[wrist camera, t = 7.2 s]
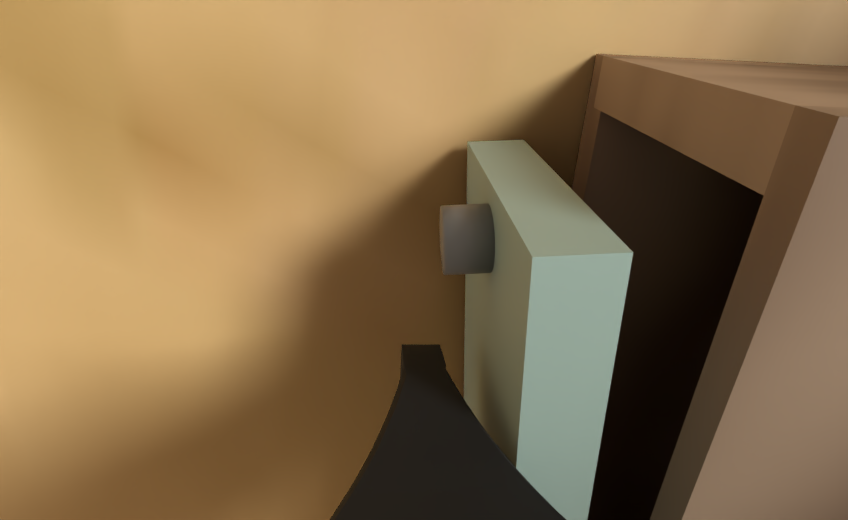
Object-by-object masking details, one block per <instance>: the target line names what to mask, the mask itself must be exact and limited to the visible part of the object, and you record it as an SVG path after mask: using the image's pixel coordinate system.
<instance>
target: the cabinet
mask: <svg viewBox="0 0 848 520" xmlns="http://www.w3.org/2000/svg"><path fill="white" fill-rule="evenodd" d="M572 190H573V191H574V192H575V193H576V194H577V195H578V196H579V197H580V198H581V199H582V200H583V201H584V202H585V203H586V204H587V205H588V206H589V207H590V208H591V209H592V211H593V212H594V213H595V214H596V215H597V216H598V217H599V218H600V219H601V220H602V221H603V222H604V223H605V224H606V225H607V226H608V227H609V228H610V229H611V230H612V231H613V232H614V233H615V234H616V235H617V236H618V237H619V238H620V239H621V240H622V241H623V242H624V243H625V244H626V245H627V246H628V248H629V249H630V250H631V251H632V252H633V257H632V263H631V269H630V275H629V280H628V286H627V292H626V298H625V304H624V309H623V315H622V321H621V327H620V333H619V339H618V344H617V350H616V356H615V362H614V368H613V373H612V379H611V385H610V391H609V397H608V403H607V408H606V414H605V420H604V426H603V432H602V437H601V443H600V449H599V455H598V461H597V467H596V472H595V478H594V484H593V490H592V496H591V501H590V507H589V513H588V519H587V520H848V66H829V65H808V64H788V63H768V62H748V61H728V60H708V59H688V58H668V57H648V56H627V55H607V54H596V59H595V64H594V70H593V75H592V81H591V86H590V92H589V97H588V103H587V108H586V114H585V119H584V125H583V130H582V136H581V141H580V147H579V152H578V158H577V163H576V169H575V174H574V180H573V185H572Z"/></svg>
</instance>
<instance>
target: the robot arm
mask: <svg viewBox="0 0 848 520" xmlns="http://www.w3.org/2000/svg"><path fill="white" fill-rule="evenodd" d="M330 520H567V519H565V518H564V517H563V516H562V515H561V514H560V513H559V512H558V511H557V510H556V509H555V508H553V507H552V506H551V504H550V503H549V502H548V501H547V500H546V499H545V498H544V497H543V496H542V495H541V494H540V493H539V492H538V491H537V490H536V489H535V488H534V487H533V486H532V485H531V484H530V483H529V482H528V481H527V480H526V478H525V477H524V476H523V475H522V474H521V473H520V472H519V471H518V470H517V469H516V467H515V466H514V465H513V464H512V463H511V462H510V460H509V459H508V458H507V457H506V456H505V454H504V453H503V452H502V451H501V450H500V448H499V447H498V446H497V445H496V443H495V442H494V441H493V439H492V438H491V437H490V436H489V434H488V433H487V432H486V430H485V429H484V428H483V426H482V425H481V423H480V422H479V421H478V419H477V418H476V416H475V415H474V413H473V412H472V410H471V409H470V408H469V406H468V405H467V403H466V402H465V400H464V399H463V397H462V396H461V394H460V392H459V391H458V389H457V388H456V386H455V384H454V382H453V381H452V379H451V377H450V376H449V374H448V372H447V370H446V364H445V361H444V357H443V354H442V351H441V348H440V345H403V344H402V352H401V376H400V381H399V385H398V388H397V391H396V394H395V396H394V399H393V402H392V405H391V408H390V410H389V413H388V415H387V418H386V420H385V422H384V424H383V426H382V429H381V431H380V433H379V435H378V437H377V439H376V442H375V444H374V446H373V448H372V450H371V452H370V454H369V456H368V458H367V459H366V461H365V463H364V465H363V467H362V469H361V470H360V472H359V474H358V476H357V477H356V479H355V481H354V483H353V484H352V486H351V488H350V489H349V491H348V492H347V494H346V495H345V497H344V499H343V500H342V502H341V503H340V505H339V506H338V508H337V509H336V511H335V513H334V514H333V516H332V517H331V519H330Z"/></svg>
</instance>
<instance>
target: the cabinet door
mask: <svg viewBox="0 0 848 520" xmlns="http://www.w3.org/2000/svg"><path fill="white" fill-rule="evenodd" d="M439 234H440V253H441V264H442V271H443V274H444V275H459V274H465V340H464V400H465V402H466V403H467V405H468V406H469V408H470V409H471V410H472V412H473V413H474V415H475V416H476V418H477V419H478V421H479V422H480V423H481V425H482V426H483V428H484V429H485V430H486V432H487V433H488V434H489V436H490V437H491V438H492V439H493V441H494V442H495V443H496V445H497V446H498V447H499V448H500V450H501V451H502V452H503V453H504V454H505V456H506V457H507V458H508V459H509V460H510V462H511V463H512V464H513V465H514V466H515V467H516V469H517V470H518V471H519V472H520V473H521V474H522V475H523V476H524V477H525V478H526V480H527V481H528V482H529V483H530V484H531V485H532V486H533V487H534V488H535V489H536V490H537V491H538V492H539V493H540V494H541V495H542V496H543V497H544V498H545V499H546V500H547V501H548V502H549V503H550V504H551V506H552V507H553V508H555V509H556V510H557V511H558V512H559V513H560V514H561V515H562V516H563V517H564V518H565V519H567V520H587V519H588V513H589V507H590V501H591V496H592V490H593V484H594V478H595V472H596V467H597V461H598V455H599V449H600V443H601V437H602V432H603V426H604V420H605V414H606V408H607V403H608V397H609V391H610V385H611V379H612V373H613V368H614V362H615V356H616V350H617V344H618V339H619V333H620V327H621V321H622V315H623V309H624V304H625V298H626V292H627V286H628V280H629V275H630V269H631V263H632V257H633V252H632V251H631V250H630V249H629V248H628V246H627V245H626V244H625V243H624V242H623V241H622V240H621V239H620V238H619V237H618V236H617V235H616V234H615V233H614V232H613V231H612V230H611V229H610V228H609V227H608V226H607V225H606V224H605V223H604V222H603V221H602V220H601V219H600V218H599V217H598V216H597V215H596V214H595V213H594V212H593V211H592V209H591V208H590V207H589V206H588V205H587V204H586V203H585V202H584V201H583V200H582V199H581V198H580V197H579V196H578V195H577V194H576V193H575V192H574V191H573V190H572V189H571V188H570V187H569V186H568V185H567V184H566V183H565V182H564V181H563V180H562V179H561V178H560V177H559V176H558V175H557V174H556V172H555V171H554V170H553V169H552V168H551V167H550V166H549V165H548V164H547V163H546V162H545V161H544V160H543V159H542V158H541V157H540V156H539V155H538V154H537V153H536V152H535V151H534V150H533V149H532V148H531V147H530V146H529V145H528V144H527V143H526V142H525V141H524V140H499V141H471V142H467V204H462V205H441V206H440V216H439Z"/></svg>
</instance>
